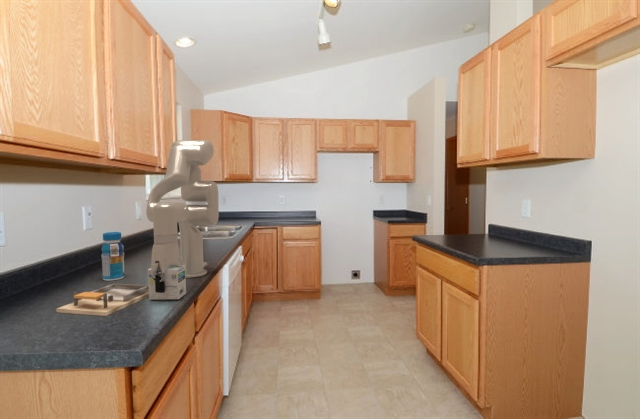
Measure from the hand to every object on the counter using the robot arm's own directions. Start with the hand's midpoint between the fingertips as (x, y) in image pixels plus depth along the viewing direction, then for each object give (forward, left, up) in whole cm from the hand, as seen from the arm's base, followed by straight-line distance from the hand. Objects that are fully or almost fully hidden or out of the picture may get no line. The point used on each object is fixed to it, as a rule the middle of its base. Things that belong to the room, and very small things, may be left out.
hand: (167, 288), depth 117 cm
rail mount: (+7, -17, -3) cm, 18 cm away
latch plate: (+15, -17, +1) cm, 23 cm away
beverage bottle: (-19, -40, -4) cm, 44 cm away
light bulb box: (0, 0, -3) cm, 3 cm away
